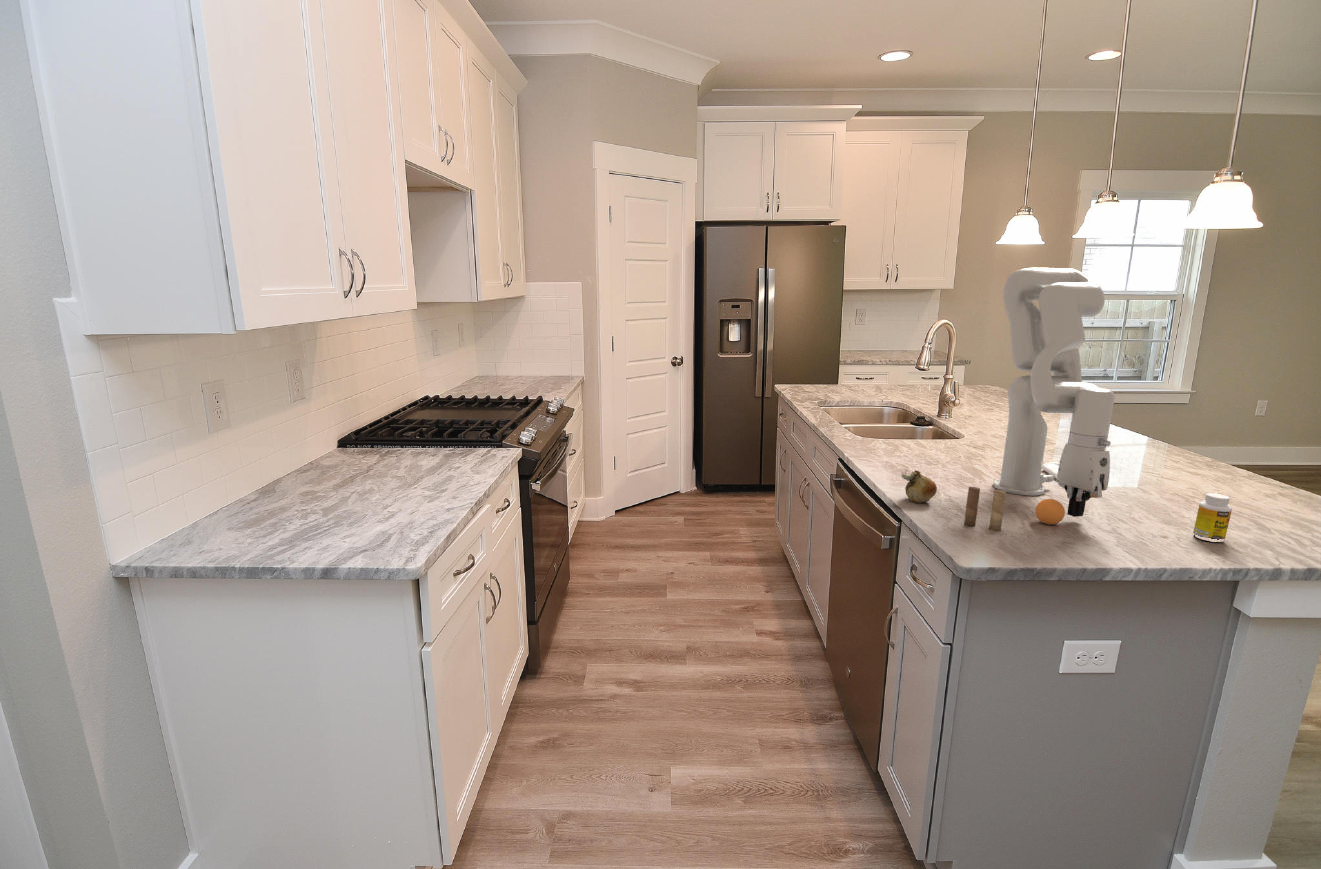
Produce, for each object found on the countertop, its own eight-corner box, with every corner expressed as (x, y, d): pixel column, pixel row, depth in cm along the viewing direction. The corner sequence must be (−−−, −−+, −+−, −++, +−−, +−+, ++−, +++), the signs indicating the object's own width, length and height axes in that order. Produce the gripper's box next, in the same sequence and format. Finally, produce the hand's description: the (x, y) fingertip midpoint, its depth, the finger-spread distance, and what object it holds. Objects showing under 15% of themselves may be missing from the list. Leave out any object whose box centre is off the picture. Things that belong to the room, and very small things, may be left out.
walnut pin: (970, 522, 153) (975, 486, 151) (977, 526, 151) (982, 489, 149) (961, 523, 152) (966, 487, 150) (968, 527, 150) (973, 490, 148)
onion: (916, 507, 163) (919, 477, 161) (896, 497, 171) (899, 468, 169) (941, 505, 165) (945, 475, 163) (921, 495, 172) (924, 466, 171)
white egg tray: (1036, 469, 201) (1087, 471, 199) (1062, 486, 184) (1118, 489, 182) (1038, 458, 200) (1089, 461, 198) (1064, 475, 183) (1120, 478, 181)
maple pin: (995, 526, 151) (1000, 489, 149) (1003, 530, 148) (1008, 492, 146) (986, 527, 150) (991, 490, 148) (994, 531, 148) (999, 493, 146)
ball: (1048, 518, 157) (1051, 494, 155) (1069, 527, 151) (1073, 502, 150) (1027, 520, 155) (1031, 496, 154) (1048, 529, 149) (1051, 504, 148)
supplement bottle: (1211, 544, 142) (1221, 500, 139) (1186, 535, 147) (1195, 492, 145) (1231, 542, 143) (1241, 498, 141) (1205, 533, 148) (1214, 491, 146)
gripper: (1130, 447, 144) (1116, 524, 148) (1071, 433, 158) (1060, 504, 162) (1104, 449, 142) (1091, 527, 146) (1047, 434, 156) (1036, 506, 160)
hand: (1075, 515), depth 154 cm, fingers closed
